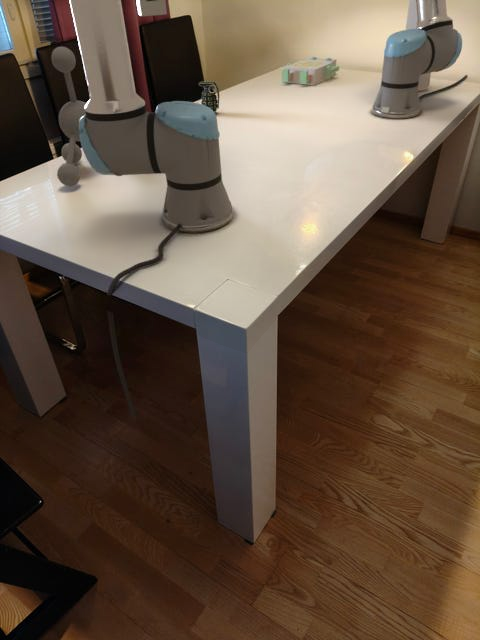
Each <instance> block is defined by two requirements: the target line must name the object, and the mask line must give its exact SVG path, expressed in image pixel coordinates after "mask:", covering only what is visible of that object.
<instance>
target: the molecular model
mask: <svg viewBox="0 0 480 640" xmlns="http://www.w3.org/2000/svg"><path fill="white" fill-rule="evenodd" d="M75 56H76V55H75V54H74V52H73V51H72V50H71V49H69V48H68V47H66V46H58V47H56V48H54V49H53V50H52V52H51V58H50V59H51V63H52V65H53V67H54V68H55V69H56V70H57V71H59V72H60V73H63V75H64V80H65V84H66V88H67V92H68V95H69V100H70V101H68V102H66V103H65V104H63V106H62V107H61V109H60V110H59V113H58V123H59V125H58V126H59V128H60V129H61V131H62V133H63V134H64V135H65V136H66V137H67V138H68V139H69V140H68V141H69V142H68V143H65V144H64V145H63V146H62V147H61V152H60V153H61V157H62V159H63V161H65V163H63V164H61V165H60V166H59V167H58V169H57V175H56V176H57V179H58V180H59V182H60V184H62V185H64V186H67V187H73V186H76V185H78V183H79V182H80V180H81V172H80V170H79V168H78V167H77V166H76V165H74V164H77V163H78V162H80V161H81V159H82V157H83V152H82V151H83V150H82V148H81V147H80V146H79V145H77V143H76V142H80V136H79V135H80V131H79V121H80V119H81V117H82V116H84V115H85V114H86V113H85V109H84V108H85V106H86V104H87V103H88V102H85V101H82V100H77V96H76V91H75V86H74V83H73V79H72V76H71V75H72V74H71V72H72V71H73V70H74V69H75V67H76V63H77V60H76V57H75Z"/></svg>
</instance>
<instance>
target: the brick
mask: <svg viewBox="0 0 480 640" xmlns="http://www.w3.org/2000/svg"><path fill="white" fill-rule="evenodd" d="M136 7H137V14H138V15H139V16H140V17H151V16H163V15H168V12H167V11H168V10H167V3H166V0H157V1H147V0H136Z"/></svg>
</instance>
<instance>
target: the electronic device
mask: <svg viewBox="0 0 480 640" xmlns="http://www.w3.org/2000/svg"><path fill="white" fill-rule="evenodd" d="M417 25H418V17H417V7H416V0H409V2H408V10H407V16H406V23H405V30H410V29H415V28H416V27H417ZM431 74H432V72H431V73H426V74H421V75H420V77H419V83H418V92H421V91H427V90H428V88H430V86H431Z"/></svg>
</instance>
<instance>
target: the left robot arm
mask: <svg viewBox="0 0 480 640" xmlns="http://www.w3.org/2000/svg"><path fill="white" fill-rule="evenodd" d="M147 1H157V0H147ZM69 4H70V9H71V14H72V18H73V23H74V28H75V33H76V36H77V41H78V47H79V51H80V55H81V60H82V61H81V62H82V64H83V70H84V74H85V80H86V83H87V87H88V93H89V100H88V101H87V102H86V103H87V104H86V106H85V108H84V109H85V113H86V114H85V115H84V116H82V117H81V119H80V121H79V131H80V135H79V136H80V141H79V142H80V146H81V150H82V151H83V152H82V153H83V154H84V157H85V159H86V161H87V162H88V164H89V165H90V167H91V168H92V169H93V170H94V171H95V172H96V173H98V174H100V175H102V176H116V177H123V176H133V175H134V176H137V175H159V174H164V175H165V180H166V190H165V191H166V192H165V196H164V203H163V207H162V218H163V222H164V224H165V226H167V227H168V228H169V229H171V230H172V231H171V232H169V233H168V234H167V236H166V237H165V238H164V239H162V241H161V242H160V243H159V244H158V246H157V256H156V257H154V258H152V259H148V260H144V261H140V262H137V263H136V264H133V265H132V266H131V267H128V268H126V269H124V270H122V271H120V272H119V273H118V274H117V275H116V276H115V277H114V278H113V279H112V280H111V283H109V284H110V285H109V287H108V289H107V293H106V295H107V296H109V297H110V296H111V295H113V293H114V291H115V288H116V286H117V284H118V283H119V281H120V280H121V279H122V278H123V277H126V276H127V275H129V274H131V273H133V272H135V271H136V270H138V269H141V268H144V267H149V266H151V265H154V264H156V263H158V262H160V261H161V260H162V258H163V257H164V252H163V249H164V247H165V246H166V244H167V243H168V242H169V241H170V240H171V239H172V238H173V237H174V236H175V235H176V234H177V232H180V233H190V234H191V233H192V234H193V233H194V234H195V233H196V234H197V233H205V232H206V233H207V232H210V231H215V230H216V229H220V228H222V227H224V226H226V225H227V224H228V223H230V221H231V220H232V218H233V216H234V212H233V211H234V210H233V205H232V201H231V200H230V197H229V195H228V192H227V190H226V187H225V184H224V182H223V175H222V174H223V173H222V164H221V150H220V136H221V135H220V130H219V124H218V118H217V115H216V112H215V113H214V111H213V110H212V109H210V108H209V107H207V106H205V105H202V104H201V103H199V102H194V101H188V100H187V101H185V100H173V101H165V102H164V101H163V102H161V103H159V104H158V105H156V109H155V111H154V112H149V111H148V110H147V106H146V101H145V99H143V98H142V97H141V96H140V95H139V94H138V93H137V92H136V91H137V90H136V86H135V80H134V74H133V68H132V60H131V54H130V49H129V42H128V36H127V29H126V24H125V17H124V10H123V4H122V0H69ZM106 313H107V318H108V325H109V327H108V328H109V334H110V340H111V341H110V342H111V346H112V351H113V357H114V360H115V364H116V369H117V372H118V375H119V380H120V382H121V386H122V389H123V393H124V396H125V398H126V401H127V405H128V410H129V413H130V417H131V420H132V422H133V423H134V422H137V415H136V412H135V407H134V404H133V400H132V398H131V393H130V390H129V387H128V384H127V380H126V378H125V373H124V370H123V366H122V361H121V357H120V352H119V348H118V341H117V335H116V328H115V319H114V312H112V311H110V310H107V312H106Z"/></svg>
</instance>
